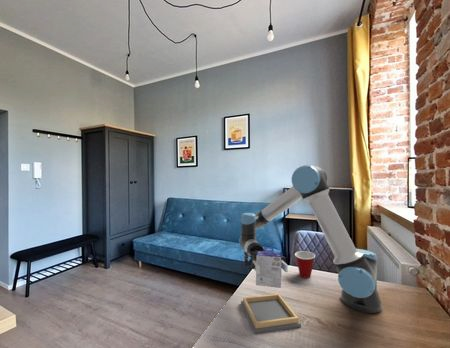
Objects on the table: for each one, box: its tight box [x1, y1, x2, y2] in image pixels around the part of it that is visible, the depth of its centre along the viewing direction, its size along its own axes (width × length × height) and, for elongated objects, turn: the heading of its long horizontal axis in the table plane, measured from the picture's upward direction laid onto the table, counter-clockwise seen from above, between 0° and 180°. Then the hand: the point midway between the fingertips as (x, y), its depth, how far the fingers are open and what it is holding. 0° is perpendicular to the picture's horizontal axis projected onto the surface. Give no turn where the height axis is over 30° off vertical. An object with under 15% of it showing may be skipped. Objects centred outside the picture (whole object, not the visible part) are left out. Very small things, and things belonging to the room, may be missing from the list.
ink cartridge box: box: [255, 245, 282, 289], centre depth 88 cm, size 10×6×14 cm, turn 79°
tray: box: [240, 293, 302, 334], centre depth 88 cm, size 18×18×3 cm
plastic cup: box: [294, 250, 316, 279], centre depth 122 cm, size 11×11×12 cm
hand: (273, 269), depth 84 cm, fingers closed on ink cartridge box, 11 cm apart
